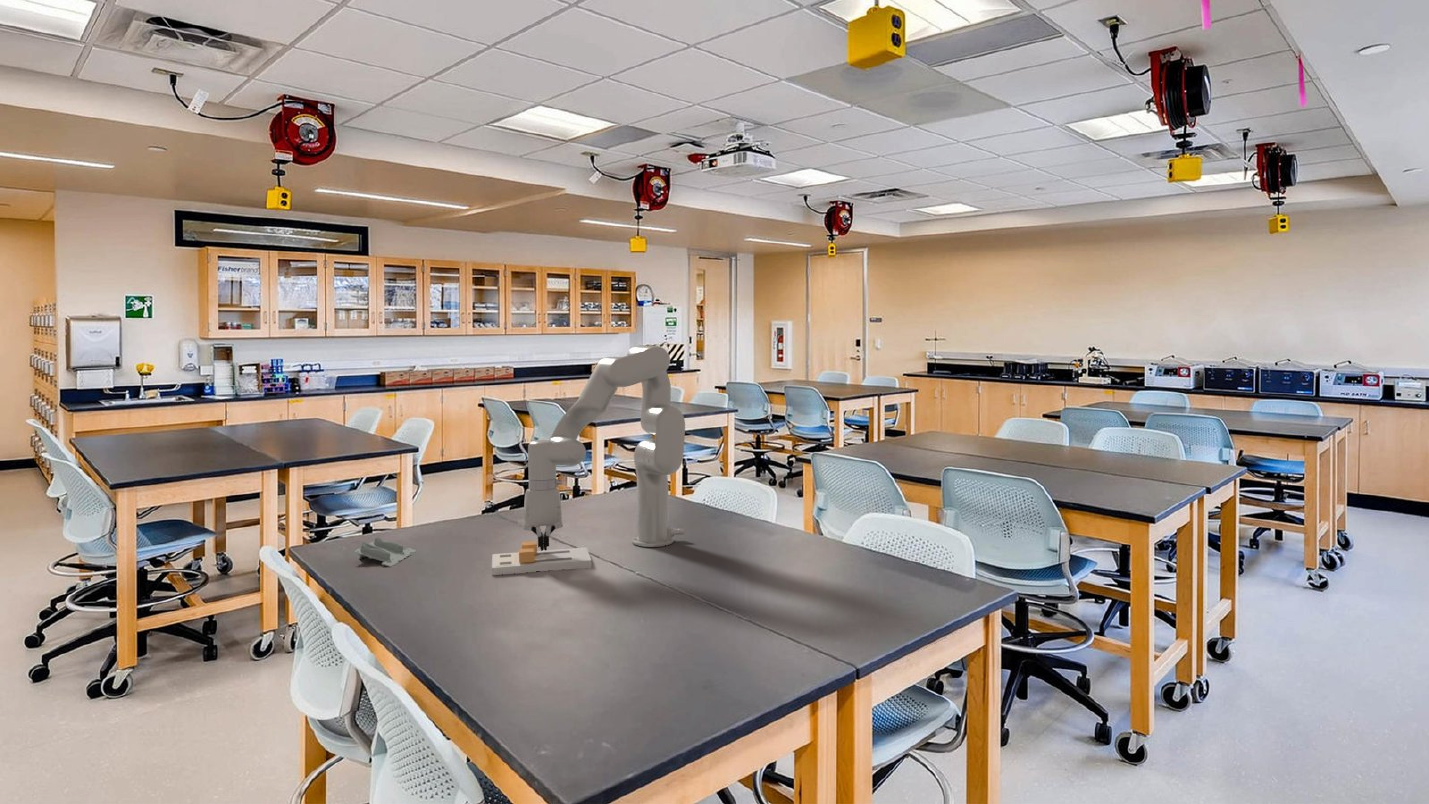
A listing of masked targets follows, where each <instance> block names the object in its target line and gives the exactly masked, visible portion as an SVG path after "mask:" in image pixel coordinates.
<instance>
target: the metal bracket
mask: <svg viewBox="0 0 1429 804" xmlns="http://www.w3.org/2000/svg"><path fill="white" fill-rule="evenodd" d="M416 550H417V549H413V548H411V547H408V548H406V549H404V545H402V544H399V543H395V542H393V541H384V540H382V539H381V537H380V538H379V537H376V538H374V540H373V541H370V542H369V543H367V542H365V541H362V544H361V546H360V547H359V548H357V549H356V550H354V551H353V553H355V554H358V556H359V558H358V560H359V561H360V560H362V559H363V557H364V558H365V557H368V558H371V559H374V560H377V561H381V562H382V563H381V565H382V566H386V567H387V568H393V567H394V566H395V565H394V564H396V563H398V560H402V561H404V560H405V559H404V558H406V556H408V555H409V554H410V552H416ZM416 553H417V552H416ZM403 559H404V560H403ZM406 559H407V558H406ZM398 564H399V563H398ZM393 565H394V566H393ZM396 565H397V564H396ZM392 566H393V567H392Z"/></svg>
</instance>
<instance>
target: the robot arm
mask: <svg viewBox="0 0 1429 804" xmlns="http://www.w3.org/2000/svg"><path fill="white" fill-rule="evenodd" d="M670 364H671V357H670V354H669V353H668V351H667V350H666V349H665V348H664V347H661V346H658V345H642V344H641V345H636V346H633V347H631V348H630V349H629V350H628V351H627V354H626V355H624V356H605V357H603V358H602V359H600V360H599V361H598V362H597V364H596V365H595V368H594V369H593V371H592V373H591V375H590V377H589V378H588V380H587V383H585V386H584V388H583V390H582V392H581V393H580V395H579V397H578V399H577V400H576V401H575V403H573V404H572V406H571V407H570V408H569V409H568V410H567V411H566V412H565V414H563V415H562V417H561V418H560V420H559V421H558V423H557V425H556V426H555V428H554V430H553V432H552V433H551V436H550V438H549V439H536V440H532V441H530V442H529V443H528V444H527V445H528V446H527V458H528V460H527V461H528V462H527V463H528V465H527V466H528V467H527V468H528V488H527V489H526V490H525V494H524V501H523V502H524V504H523V505H524V506H523V508H524V509H523V519H524V523H523V530H525V531H530V532H532V533H534V534H535V535H536V536H537V548H540V551H544V550H548V548H547V547H550V536H551V534H553V532H554V531H555V530H558V529H561V528H563V527H564V523H563V521H562V519H563V513H562V501H561V500H562V499H561V493H560V487H558V486H559V485H562V483H563V482H562V479H559V478H557V466H568V467H571V466H573V467H574V466H577V465H579V464H580V463H582V462H583V461H584V460H585V458H586V455H587V449H586V447H585V445H584V443H582V442H581V441H579V440H577V439H578V438H579V436H580V434H581V432H582V431H583V430H584V429H585V428H586V427H587V426H588V425H589V424H591V423H593V422H594V421H596V420H598V419H599V418H601V417H603V416H604V414H605V413H606V412H607V409H608V408H609V405H610V404H611V401H612V399H613V397H614V396H615V394H616V392H617V390H618V389H619V388H627V387H630V386H634V385H637V384H640V383H641V386H642V388H641V390H642V400H641V412H640V425H641V429H642V430H643V431H644V432H645V433H647V434H650V435H653V436H655V437H654V438H646V439H643V440H641V441H640V442H639V443H638V444H637V445H636V446H635V449H634V453H633V460H634V467H635V474H636V509H637V510H636V512H637V513H636V516H637V517H636V519H637V520H636V523H637V524H636V525H637V526H636V527H637V529H636V530H637V532H636V533H637V534H636V535H634V536H633V537H632V538H631V539H632V544H633V545H636V546H639V547H643V548H644V547H645V548H659V547H660V548H661V547H665V545H666V546H670V545H671V544H673V543H674V542H675V541H674V539H675V538H674V536H684V535H685V529H684V528H679V527H674V528H672V527H671V526H670V524H669V523H670V522H669V480H668V478H669V477H668V476H669V475H670V476H671V475H673V474H675V473H676V472H677V471H678V470H679V469H680V468H681V466H682V463H683V458H684V449H685V448H684V447H685V439H686V438H685V435H686V420H685V417H684V415H683V412H682V411H681V410H680V409H679V408H678V407H676V406H673V405H671V396H672V395H671V394H672V393H671V392H672V389H671V380H670V377H669V374H668V372H667V370H668V368H669V367H670ZM541 527H545V531H544V533H543V532H542V530H541Z"/></svg>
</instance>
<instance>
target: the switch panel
mask: <svg viewBox="0 0 1429 804" xmlns="http://www.w3.org/2000/svg"><path fill="white" fill-rule="evenodd" d="M491 556H492V557H491V558H492V559H491V560H492V561H491V576H501V575H502V574H503V575H513V574H514V573H515V574H525V573H526V572H528V573H536V571H540V572H551V570H553V571H563V570H562V569H565V570H572V569H573V570H575V569H576V570H577V569H587V568H588V569H589V568H592V559H591V556H590V554H589V551H588V547H576V548H561V549H560V548H559V549H547V550H543V551H541V550H537V554H534V556H535V562H526V563H519V551H518V552H507V553H492V555H491ZM548 570H550V571H548ZM515 574H514V575H515Z"/></svg>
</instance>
